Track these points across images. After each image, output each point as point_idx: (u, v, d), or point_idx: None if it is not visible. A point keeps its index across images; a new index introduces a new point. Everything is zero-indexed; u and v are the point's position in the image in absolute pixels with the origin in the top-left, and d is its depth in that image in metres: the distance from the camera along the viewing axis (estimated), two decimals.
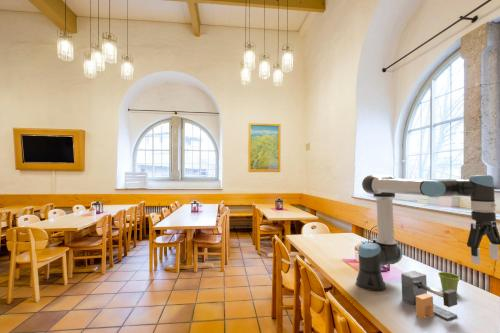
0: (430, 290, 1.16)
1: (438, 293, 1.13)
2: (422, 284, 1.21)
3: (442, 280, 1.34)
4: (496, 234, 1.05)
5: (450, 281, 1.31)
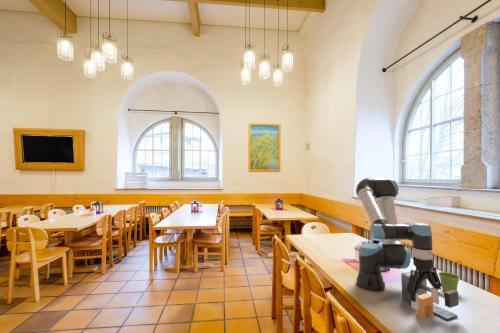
0: None
1: (439, 293, 1.13)
2: None
3: (442, 280, 1.34)
4: (436, 279, 1.13)
5: (450, 281, 1.31)
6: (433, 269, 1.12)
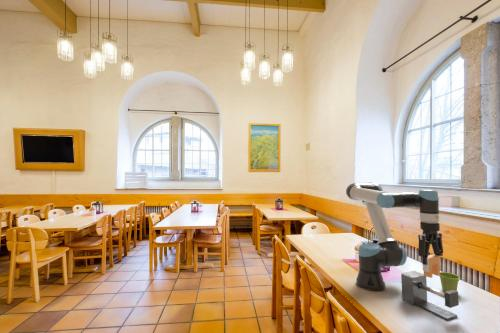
0: (431, 290, 1.16)
1: (439, 294, 1.12)
2: None
3: (442, 280, 1.34)
4: (440, 245, 1.18)
5: (450, 281, 1.31)
6: (439, 234, 1.18)
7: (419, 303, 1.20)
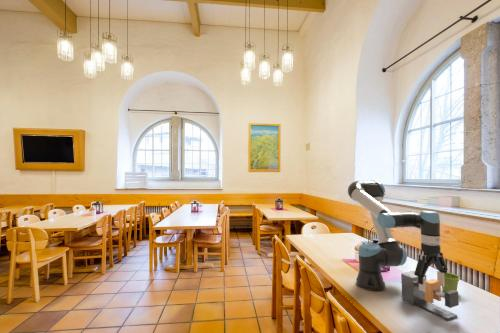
0: None
1: (439, 294, 1.12)
2: None
3: None
4: (442, 263, 1.19)
5: (450, 281, 1.31)
6: (440, 254, 1.18)
7: (419, 303, 1.20)
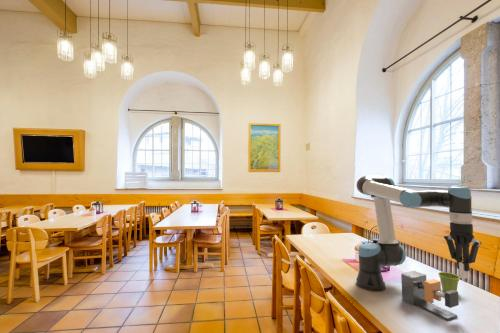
0: None
1: (439, 294, 1.12)
2: None
3: (442, 280, 1.34)
4: None
5: (450, 281, 1.31)
6: (474, 242, 1.00)
7: (419, 303, 1.20)
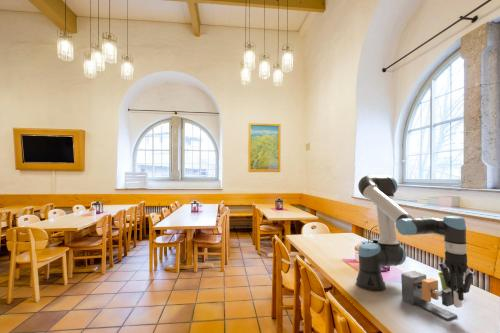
0: None
1: (437, 292, 1.14)
2: None
3: (442, 280, 1.34)
4: None
5: None
6: (469, 273, 1.02)
7: (419, 303, 1.20)
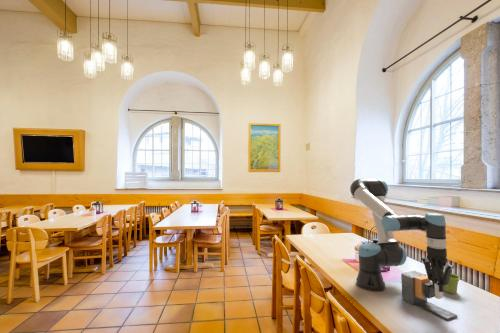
0: None
1: None
2: None
3: None
4: None
5: (450, 281, 1.31)
6: (448, 266, 1.09)
7: (419, 303, 1.20)
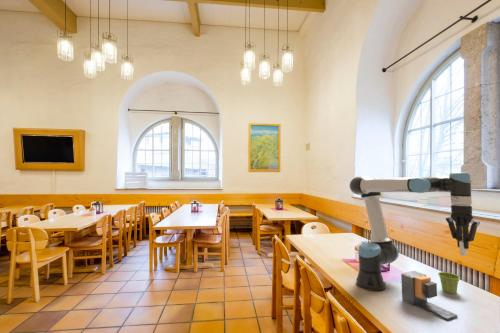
0: None
1: None
2: None
3: (442, 280, 1.34)
4: None
5: (450, 281, 1.31)
6: None
7: (419, 303, 1.20)
